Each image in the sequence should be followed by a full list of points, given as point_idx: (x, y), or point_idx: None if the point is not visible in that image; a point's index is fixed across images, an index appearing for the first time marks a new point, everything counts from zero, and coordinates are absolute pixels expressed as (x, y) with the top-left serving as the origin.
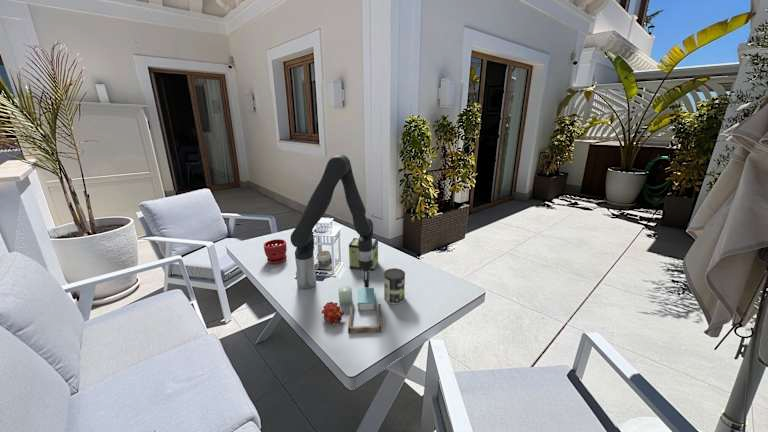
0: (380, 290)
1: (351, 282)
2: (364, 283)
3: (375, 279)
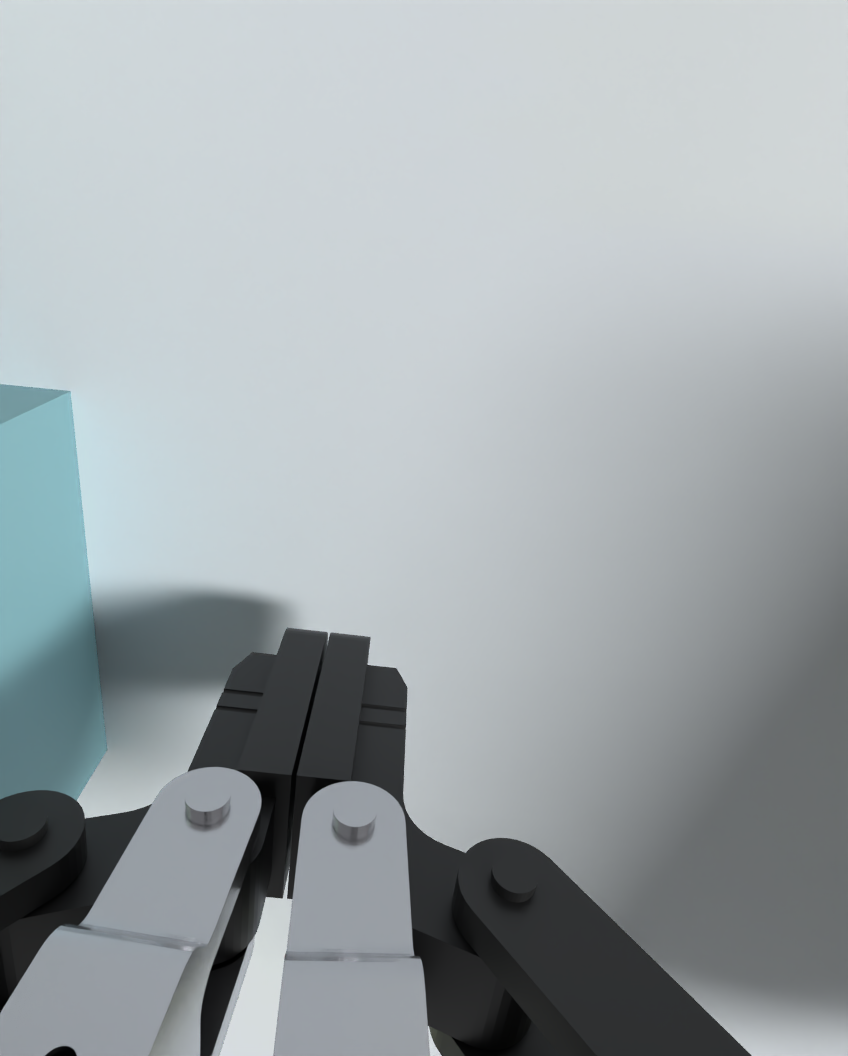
0: None
1: (834, 219)
2: (257, 712)
3: (733, 839)
